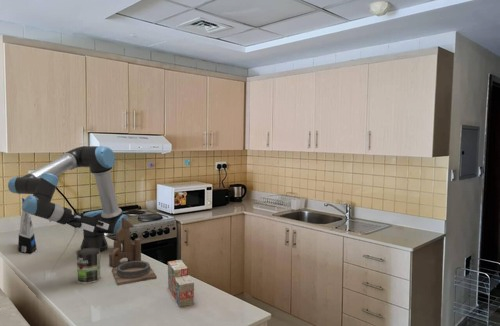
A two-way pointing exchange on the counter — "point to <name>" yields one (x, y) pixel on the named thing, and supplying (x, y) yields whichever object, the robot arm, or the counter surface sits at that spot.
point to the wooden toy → (125, 246)
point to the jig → (133, 272)
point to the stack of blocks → (180, 283)
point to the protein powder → (26, 234)
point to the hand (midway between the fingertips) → (100, 228)
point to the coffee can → (88, 265)
